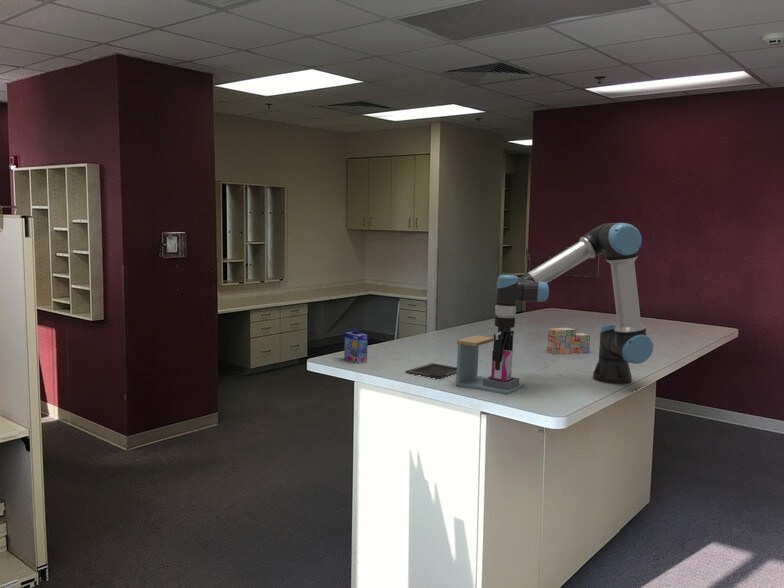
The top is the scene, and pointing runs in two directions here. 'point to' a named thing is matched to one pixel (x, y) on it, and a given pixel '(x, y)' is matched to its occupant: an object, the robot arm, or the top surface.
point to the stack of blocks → (567, 341)
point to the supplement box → (504, 366)
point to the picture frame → (434, 371)
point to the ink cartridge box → (355, 347)
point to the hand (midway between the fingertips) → (501, 376)
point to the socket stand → (469, 367)
